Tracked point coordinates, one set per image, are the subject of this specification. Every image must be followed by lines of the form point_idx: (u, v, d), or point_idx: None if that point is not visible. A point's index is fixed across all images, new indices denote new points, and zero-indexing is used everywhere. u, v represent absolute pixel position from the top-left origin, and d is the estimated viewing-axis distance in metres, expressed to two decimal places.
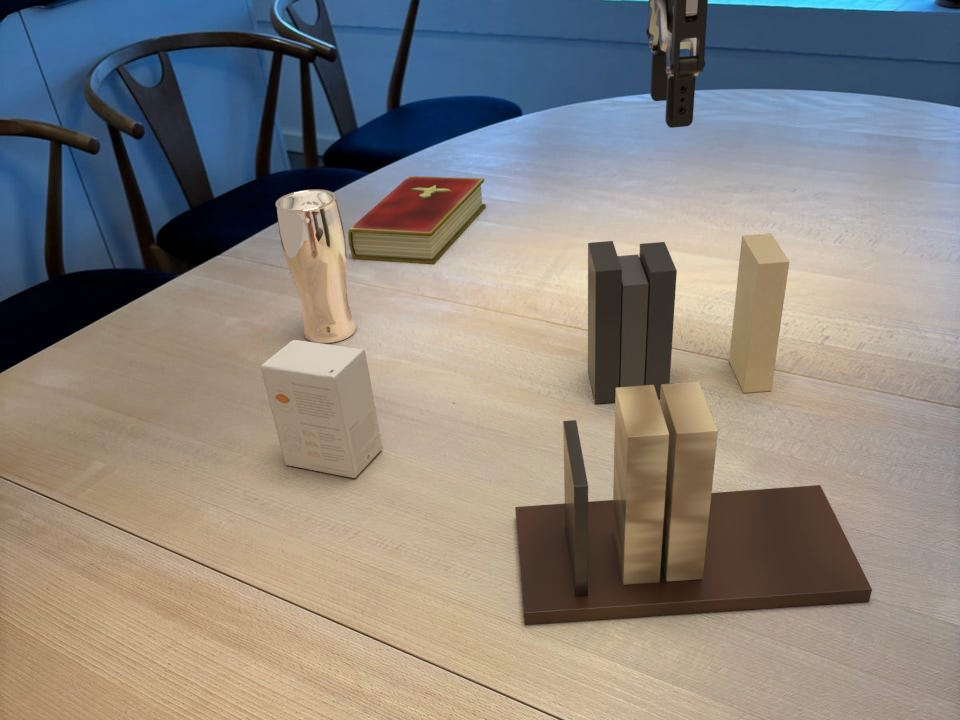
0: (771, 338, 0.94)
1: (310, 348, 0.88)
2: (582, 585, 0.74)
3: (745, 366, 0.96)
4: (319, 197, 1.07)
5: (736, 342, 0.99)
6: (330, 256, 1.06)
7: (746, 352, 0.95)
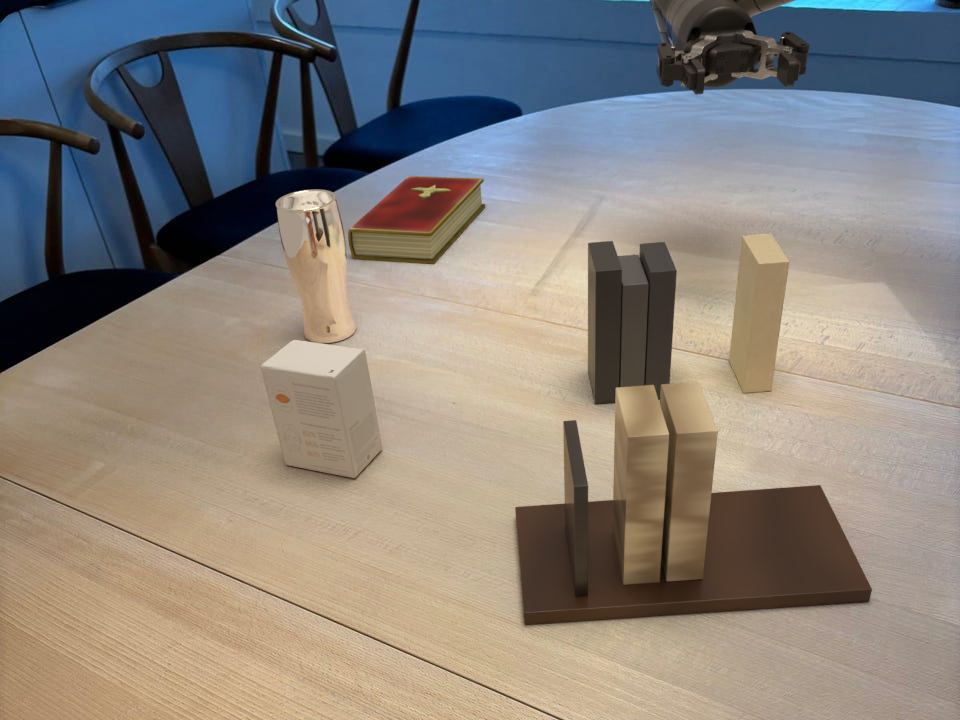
0: (771, 338, 0.94)
1: (310, 348, 0.88)
2: (582, 585, 0.74)
3: (745, 366, 0.96)
4: (319, 197, 1.07)
5: (736, 342, 0.99)
6: (330, 256, 1.06)
7: (746, 352, 0.95)
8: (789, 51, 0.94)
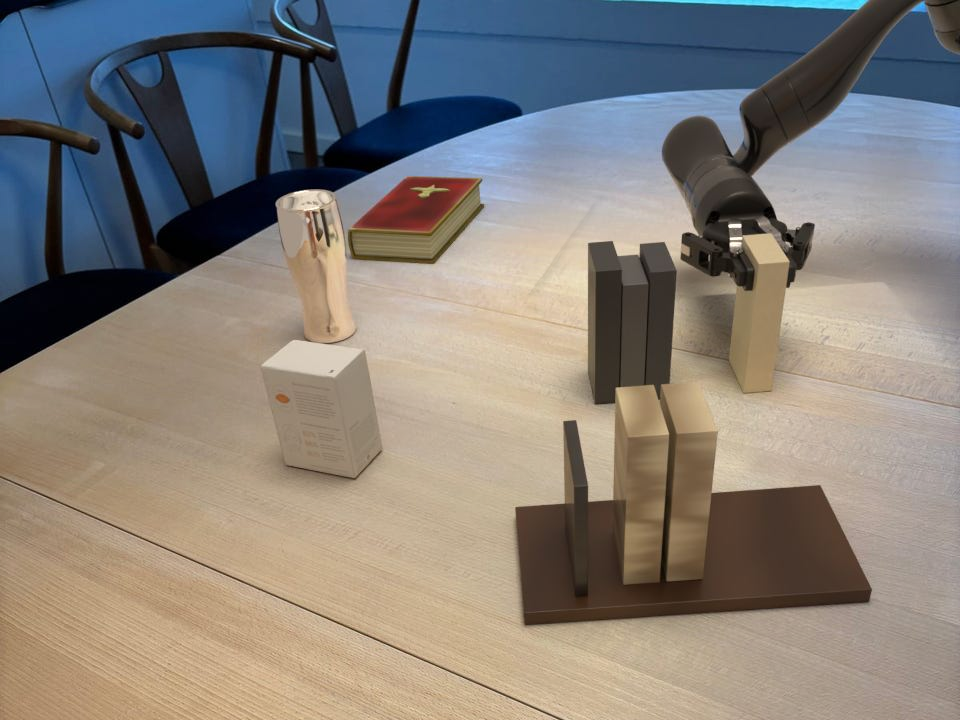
0: (771, 338, 0.94)
1: (310, 348, 0.88)
2: (582, 585, 0.74)
3: (745, 366, 0.96)
4: (319, 197, 1.07)
5: (736, 342, 0.99)
6: (330, 256, 1.06)
7: (746, 352, 0.95)
8: (785, 250, 0.93)
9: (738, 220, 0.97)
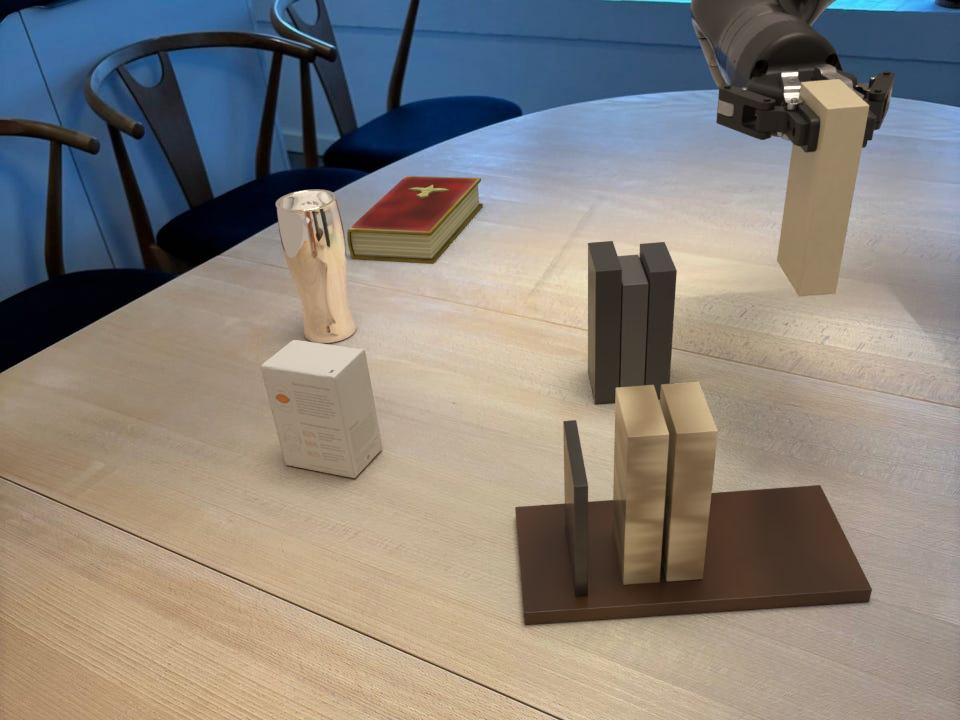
0: (839, 219, 0.70)
1: (310, 348, 0.88)
2: (582, 585, 0.74)
3: (803, 259, 0.73)
4: (319, 197, 1.08)
5: (789, 232, 0.76)
6: (330, 256, 1.06)
7: (804, 240, 0.72)
8: None
9: (793, 68, 0.74)
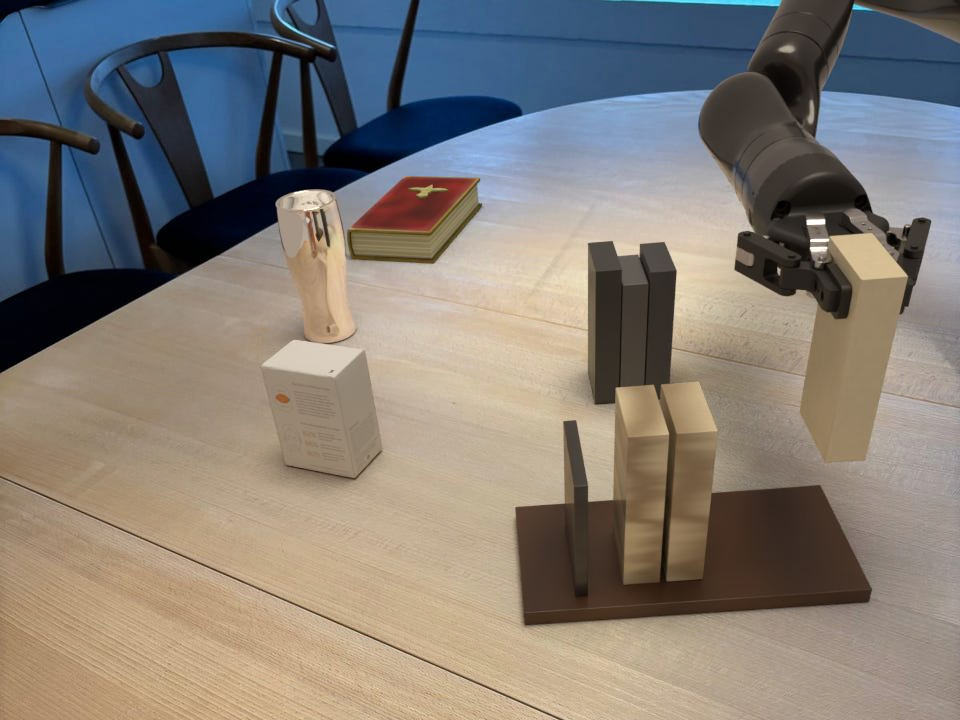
0: (871, 388, 0.64)
1: (310, 348, 0.88)
2: (582, 585, 0.74)
3: (830, 426, 0.66)
4: (319, 198, 1.07)
5: (814, 389, 0.69)
6: (330, 256, 1.06)
7: (832, 406, 0.65)
8: (894, 259, 0.63)
9: (820, 214, 0.67)
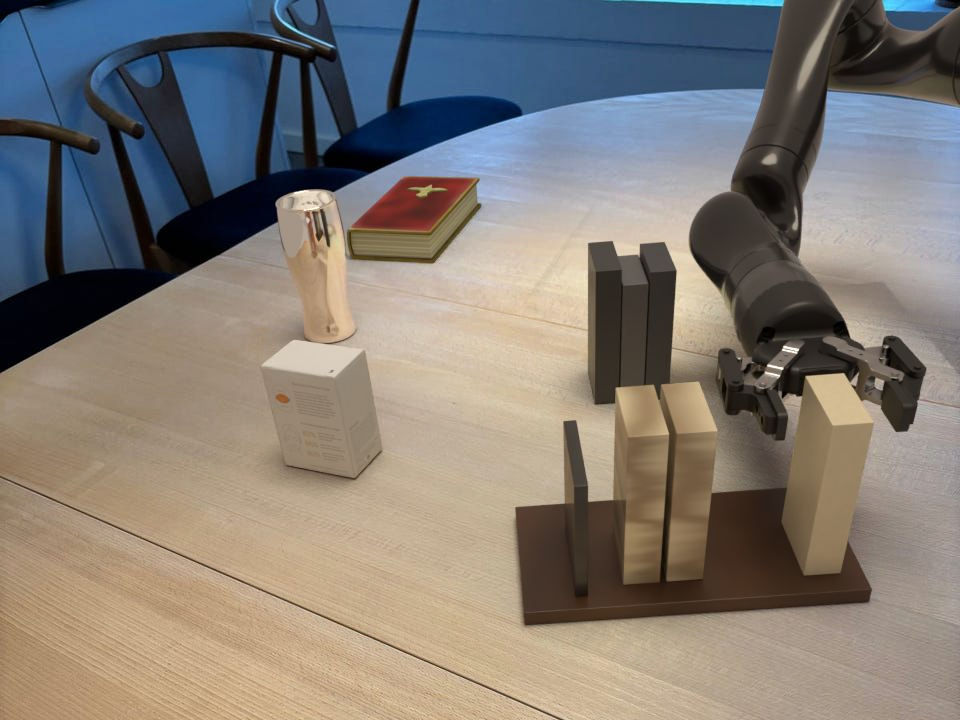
0: (844, 513, 0.70)
1: (310, 348, 0.88)
2: (582, 585, 0.74)
3: (807, 544, 0.73)
4: (319, 198, 1.07)
5: (793, 506, 0.76)
6: (330, 256, 1.06)
7: (809, 528, 0.72)
8: (899, 379, 0.70)
9: (801, 342, 0.73)
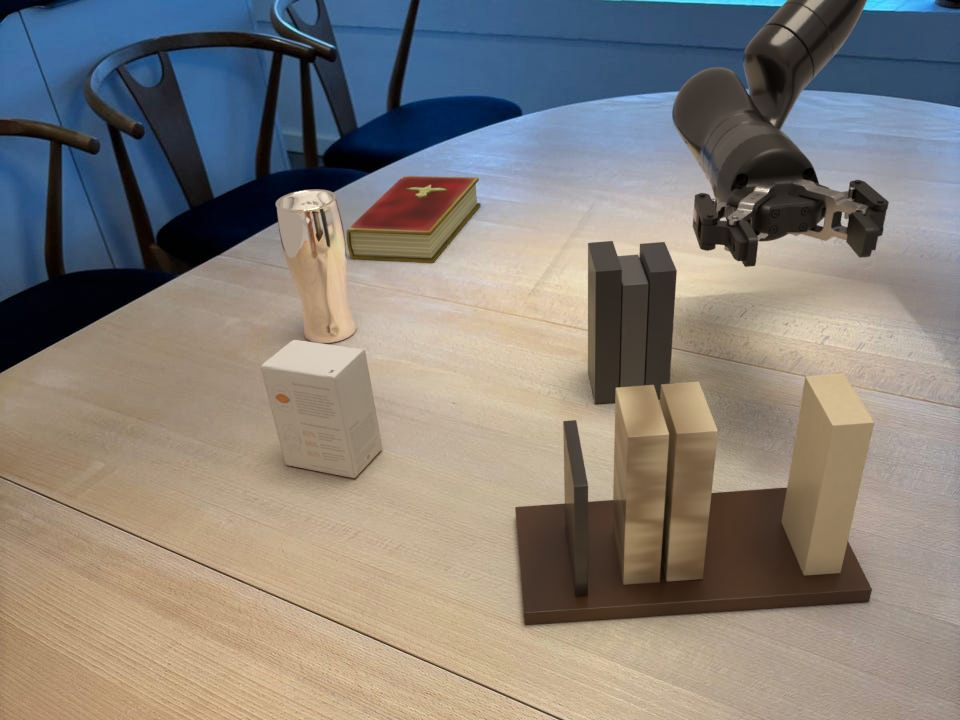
0: (844, 513, 0.70)
1: (310, 348, 0.88)
2: (582, 585, 0.74)
3: (807, 544, 0.73)
4: (319, 197, 1.08)
5: (793, 506, 0.76)
6: (330, 256, 1.06)
7: (809, 528, 0.72)
8: (863, 211, 0.74)
9: (772, 184, 0.78)
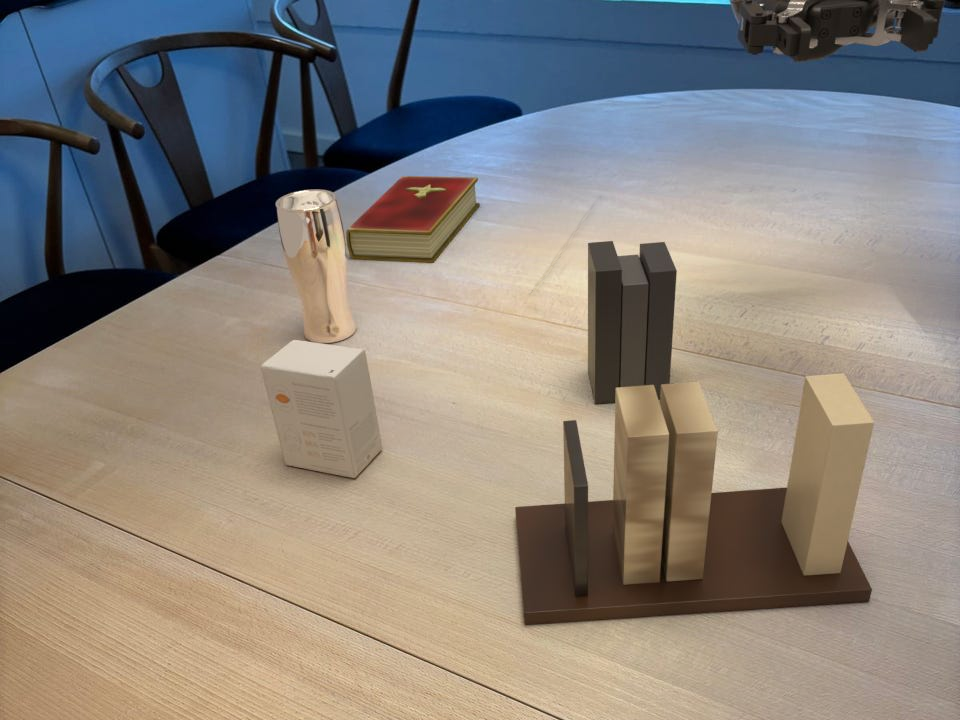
0: (844, 513, 0.70)
1: (310, 348, 0.88)
2: (582, 585, 0.74)
3: (807, 544, 0.73)
4: (319, 197, 1.07)
5: (793, 506, 0.76)
6: (330, 256, 1.06)
7: (809, 528, 0.72)
8: (919, 6, 0.72)
9: None
